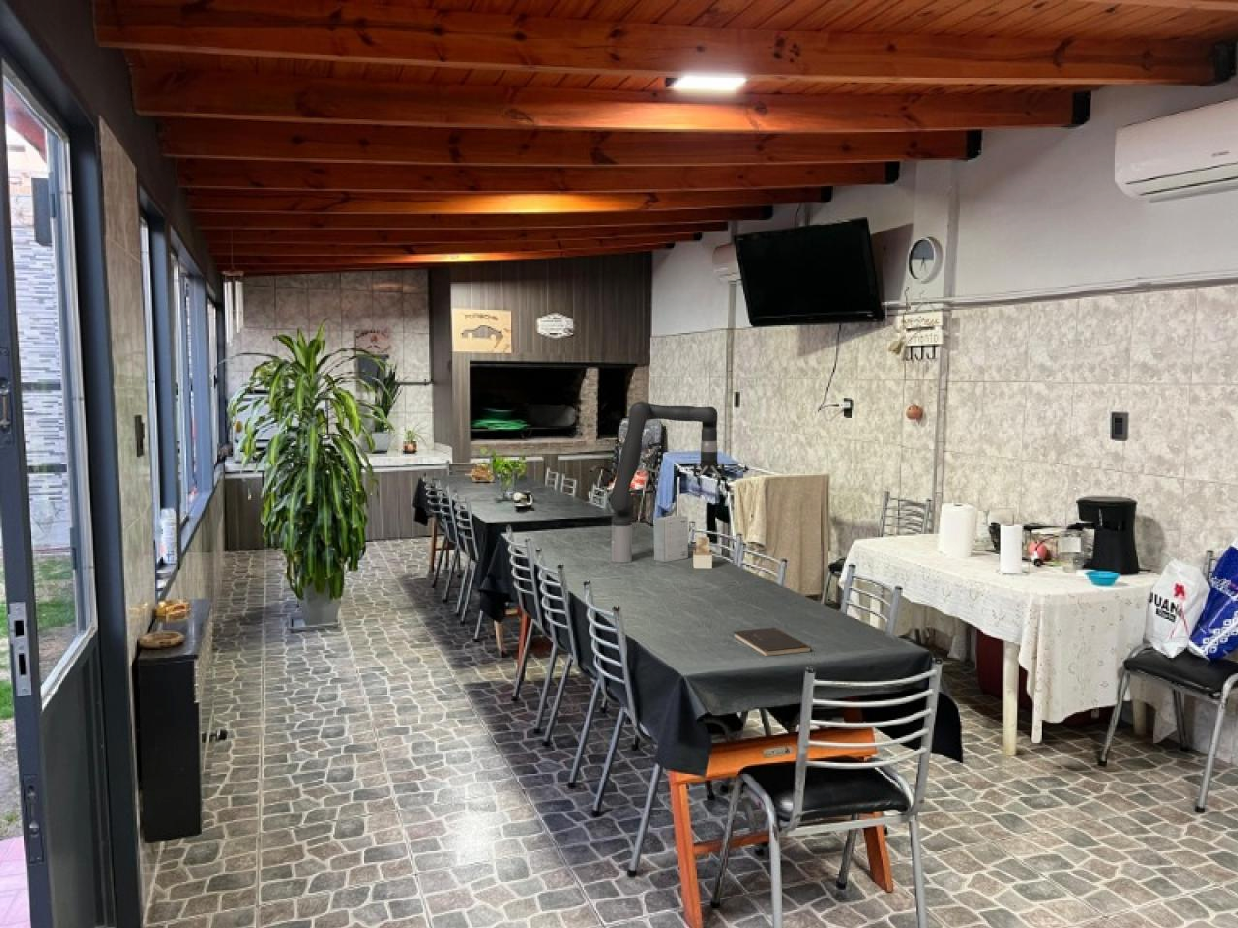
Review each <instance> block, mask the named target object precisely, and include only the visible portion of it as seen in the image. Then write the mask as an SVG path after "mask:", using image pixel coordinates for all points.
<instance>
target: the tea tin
mask: <svg viewBox="0 0 1238 928" xmlns="http://www.w3.org/2000/svg"><path fill="white" fill-rule="evenodd" d="M692 560H693V561H692V564H693V569H713V567H712V566H713V564H712V563H713V552H712V549H709V553H697V551H696V549H692Z"/></svg>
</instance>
